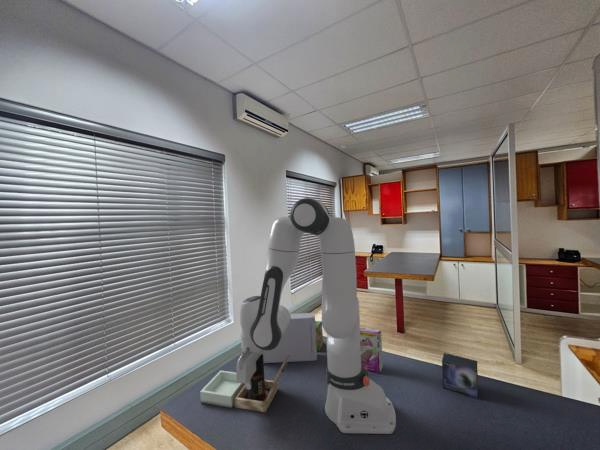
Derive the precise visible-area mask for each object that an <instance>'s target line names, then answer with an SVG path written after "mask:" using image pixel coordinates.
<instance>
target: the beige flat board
mask: <svg viewBox="0 0 600 450" xmlns="http://www.w3.org/2000/svg"><path fill="white" fill-rule="evenodd" d="M288 358H289V355H288V356H287V357H286V359H285V361H284V362H282V364H281V366H280V367H279V369H278V370H277V373H276V376H275V377H274V380H273V381H274V382H273V385H272V387H271V389H269V392H268V393H269V394H268V393H267V395H268V397H267V396H266V397H267V399H266V398H265V399H266V402H265V403H266V404H267V402H268V400H269V398H270V397H271V395H272V393H273V391H274V389H275V387H276V386H277V384H278V385H279V382H280V380H281V377H282V374H283V373H284V372H285V370H286V369H287V366H288V364H289V362H287V360H288Z"/></svg>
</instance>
